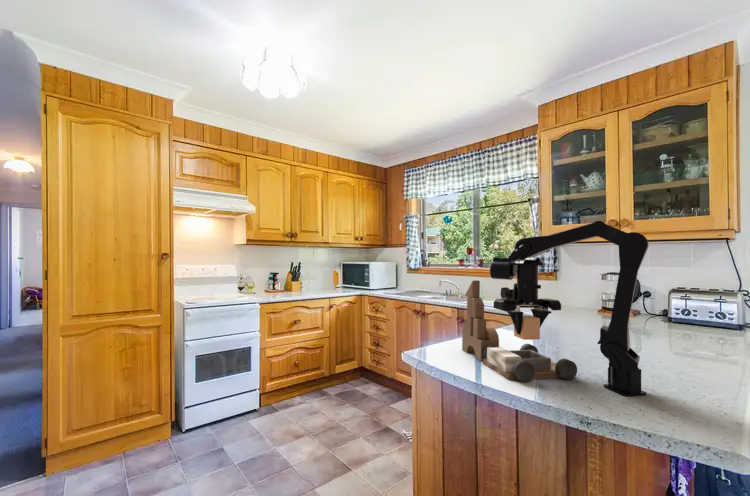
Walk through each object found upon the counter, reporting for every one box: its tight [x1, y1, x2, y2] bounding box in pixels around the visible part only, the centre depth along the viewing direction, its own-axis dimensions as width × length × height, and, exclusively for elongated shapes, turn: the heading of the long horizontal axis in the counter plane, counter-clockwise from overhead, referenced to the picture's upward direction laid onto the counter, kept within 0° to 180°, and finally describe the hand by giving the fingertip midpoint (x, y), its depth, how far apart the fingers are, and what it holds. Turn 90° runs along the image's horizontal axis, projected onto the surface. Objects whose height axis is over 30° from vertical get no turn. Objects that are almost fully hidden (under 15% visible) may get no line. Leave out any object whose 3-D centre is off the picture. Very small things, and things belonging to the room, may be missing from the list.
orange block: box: [513, 315, 541, 341], centre depth 102 cm, size 5×5×6 cm
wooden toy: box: [461, 280, 500, 362], centre depth 118 cm, size 16×7×25 cm, turn 11°
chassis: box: [482, 343, 578, 383], centre depth 102 cm, size 18×20×6 cm
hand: (526, 334), depth 102 cm, fingers closed on orange block, 5 cm apart
